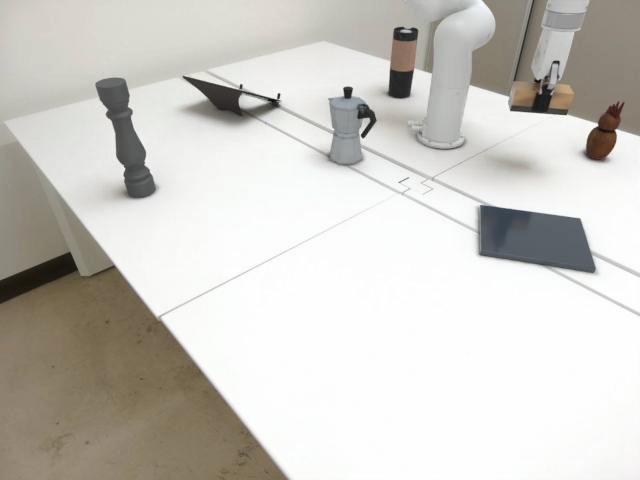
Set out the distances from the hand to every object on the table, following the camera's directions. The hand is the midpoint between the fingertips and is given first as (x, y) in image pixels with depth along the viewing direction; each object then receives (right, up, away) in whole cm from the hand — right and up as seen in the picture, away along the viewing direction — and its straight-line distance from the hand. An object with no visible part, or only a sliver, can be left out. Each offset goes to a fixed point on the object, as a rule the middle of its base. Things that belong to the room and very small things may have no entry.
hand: (537, 105), depth 104 cm
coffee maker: (-42, -10, +13) cm, 45 cm away
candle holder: (-91, -20, +1) cm, 93 cm away
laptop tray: (-75, +11, +39) cm, 85 cm away
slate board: (-7, -30, -13) cm, 34 cm away
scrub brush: (0, -1, +1) cm, 1 cm away
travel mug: (-23, +17, +47) cm, 55 cm away
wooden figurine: (+21, -9, +13) cm, 27 cm away
